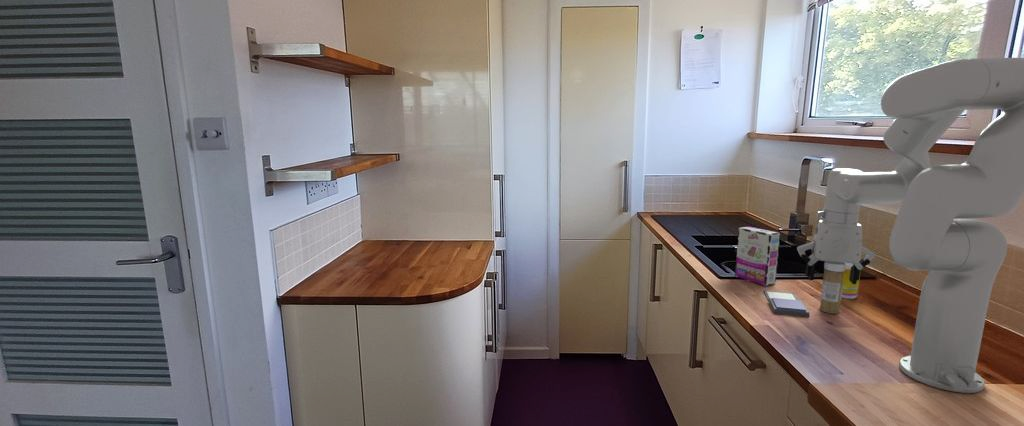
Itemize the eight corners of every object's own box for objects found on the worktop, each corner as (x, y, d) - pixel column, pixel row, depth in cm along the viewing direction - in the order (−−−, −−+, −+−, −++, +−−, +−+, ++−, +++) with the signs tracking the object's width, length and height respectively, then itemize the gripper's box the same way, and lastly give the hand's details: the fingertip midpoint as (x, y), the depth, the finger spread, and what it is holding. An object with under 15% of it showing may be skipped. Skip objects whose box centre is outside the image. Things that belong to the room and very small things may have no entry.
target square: (800, 304, 132) (800, 303, 132) (768, 300, 134) (768, 299, 134) (794, 294, 139) (794, 293, 139) (763, 291, 142) (763, 290, 142)
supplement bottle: (862, 297, 136) (868, 254, 133) (846, 301, 134) (852, 256, 131) (839, 290, 142) (844, 248, 140) (823, 293, 140) (828, 250, 137)
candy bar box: (776, 284, 147) (781, 232, 144) (765, 287, 145) (770, 234, 142) (744, 274, 157) (748, 225, 154) (733, 276, 155) (738, 227, 152)
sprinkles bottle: (842, 311, 126) (849, 262, 124) (834, 315, 124) (840, 265, 121) (823, 306, 130) (829, 258, 127) (815, 310, 128) (821, 261, 125)
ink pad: (808, 316, 123) (809, 311, 123) (774, 313, 126) (774, 307, 126) (801, 305, 131) (802, 299, 130) (768, 302, 133) (769, 296, 133)
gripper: (805, 218, 122) (797, 282, 125) (886, 223, 116) (875, 289, 120) (798, 212, 128) (790, 272, 132) (874, 216, 123) (864, 279, 127)
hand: (831, 280), depth 126 cm, fingers open, 9 cm apart
